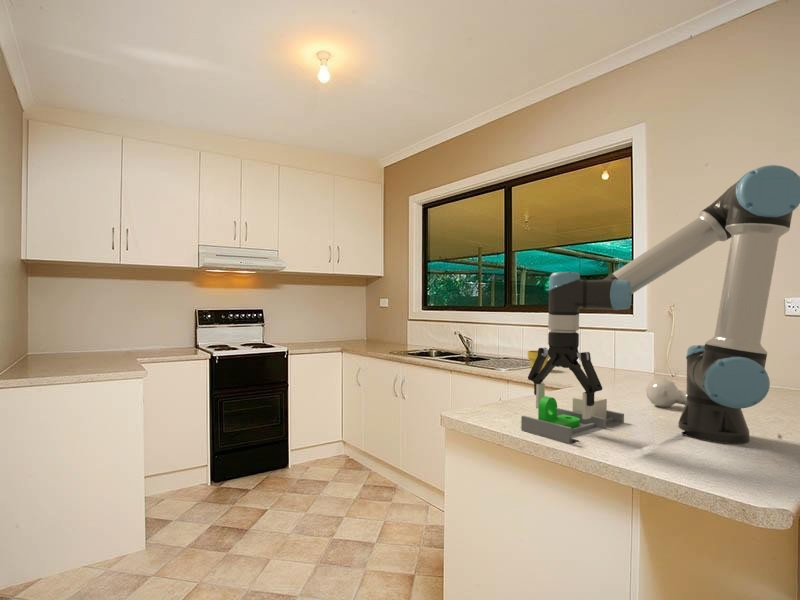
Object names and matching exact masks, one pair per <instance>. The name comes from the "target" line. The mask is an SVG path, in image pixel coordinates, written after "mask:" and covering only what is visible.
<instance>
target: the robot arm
mask: <svg viewBox="0 0 800 600" xmlns="http://www.w3.org/2000/svg"><path fill="white" fill-rule="evenodd" d="M799 206H800V175H799V174H797V172H795V171H794V170H793V169H791V168H789V167H786V166H783V165H776V164H774V165H773V164H770V165H764V166H760V167H757V168H754V169H752V170H749V171H748V172H746V173H745V174H743V175H742V177H740V178H739V180H738V181H737V182H735V183H733V184H732V185H730V187H729V188H727V189H726V190H725V191H724V192H723V194H722V195H720V196H719V197H718V198H717V199H716V200H714V201H713V202H712V203H711V204H710V205H708V206H706V208H704V209H702V210H701V211H699V213H698V216H697V218H696V219H694V220H692V221H691V222H690V223H688V224H686V225H684V227H682V228H680V229H678V230H677V231H676V232H674V233H672V234H671V235H670V236H668V237H666V238H665V239H663V240H661V241H660V242H659V243H657V244H655V245H654V246H652V247H650V249H649V248H648V250H647V251H644V252H643V253H641V254H640V255H639V256H637V257H636V258H634V259H632V260H631V261H629V262H628V263H627V264H625V265H623V266H622V267H620V268H618V269H617V270H616V271H614V272H612V273H611V274H609V275H607V276H606V277H604V278H603V279H591V280H590V279H581V276H580V273H579V272H576V271H558V272H557V271H556V272H552V273H551V274H550V275H549V283H548V285H549V286H548V323H547V324H548V325H547V326H548V330H550V331H548V333H547V334H548V335H547V337H548V339H547V341H548V342H547V344H548V346H549V347H548V348H547V347H539V348H538V350H537V351H538V356H537V358H536V360H535V363H534V365H533V367H532V369H531V368H530V371H529V374H528V376H527V379H528V381H531V382H532V383H533V385H534V386H533V390H534V391H533V393H534V396H535V397H536V399H535V409H538V407H539V402H540V400H541V399H542V398H543V397H544V396H546V395H545V391H546V389H545V387H546V385H545V383H544V380H545V379H546V378H547V377H548V375H550V373H551V372H552V371H553V369H554V368H556V367H557V368H561V367H562V368H563V369H569V370H570V371H571V372H572V373H573V375H574V376H575V378H576V379H577V381H578V382H579V384H580V385H581V387H582V388H583V390H584V392H582V396H583V401H582V419H589V418H591V406H593V405H594V397H595V394H596V392H600V391H602V390H603V386H602V383H601V381H600V379H599V376H598V375H597V373H596V370H595V368H594V365H593V362H592V360H591V359H592V358H591V353H590V351H584V352H579V346H580V343H579V342H580V334H579V332H577V331H579V329H580V309H581V310H582V309H583V310H603V311H604V310H608V311H609V310H614V311H619V310H629V309H630V308H631V305H632V299H633V297H632V295H633V294H635V293H636V292H638V291H639V290H641V289H642V288H644V287H646V286H647V285H649V284H651V283H652V282H654V281H655V280H657V279H658V278H660V277H662V276H664V275H665V274H667V273H668V272H670V271H671V270H673V269H675V268H676V267H678V266H679V265H681V264H683V263H685V262H686V261H688V260H689V259H691V258H692V257H694V256H696V255H697V254H699V253H700V252H703V251H704V250H705V249H707V248H708V247H710V246H712V245H714V244H715V243H717V242H726V241H727V240H730V243H729V250H728V254H727V255H728V257H727V262H726V268H725V272H724V279H723V284H722V291H721V296H720V301H719V302H720V303H719V309H718V314H717V317H716V318H717V319H716V325H715V331H714V336H713V337H712V338H711V339H710V338H709V340H707V341H706V342H704V343H705V344H704V345H702V344H699V345H698V344H697V345H690V346H689V347H688V348H687V351H686V355H685V358H686V392H687V400H686V405H684V407H683V410H682V412H681V415H680V418H679V420H678V425H677V427H678V428H679V429H680V430H682V432H680V433H681V434H683V435H684V436H687V437H691V438H694V439H696V440H697V439H698V440H703V441H707V442H714V443H721V444H746V443H749V442H750V430H749V426H748V423H747V422H746V418H745V416H744V414H743V413H744V412H743V410H742V409H748V408H751V407H754V406H756V405H757V404H759V403H761V402H762V401H763V400H764V399H765V398H766V397H767V395H768V393H769V391H770V386H771V384H770V383H771V381H770V377H769V375H768V372H767V370H766V362H767V357H768V351H767V350H766V349H765V348H764V347H763V346H762V344H761V341H762V334H763V330H764V326H765V325H764V324H765V318H766V314H767V313H766V312H767V308H768V302H769V301H768V300H769V297H770V290H771V285H772V280H773V279H772V278H773V274H774V268H775V262H776V258H777V257H776V256H777V251H778V246H779V240H780V238H781V237H782V236H783V235H785V234H787V233H788V232H789V231H790V229H791V225H792V224H791V223H792V218H793V217H792V216H793V214H794V213H793V212H794V211H795V210H796V209H797V208H798V207H799ZM547 355H549V359H548V362H547V363H546V365H545V366H544V368H543V369H542V370H541V368H542V366H543V364H544V361H545V359H546V357H547ZM578 359H579V361H580V362H581V365H582V367H583V369H582V368H581V365H580V363H579V361H578ZM540 370H541V371H540ZM583 370H584V371H583Z"/></svg>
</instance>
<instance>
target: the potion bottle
mask: <svg viewBox="0 0 800 600" xmlns="http://www.w3.org/2000/svg"><path fill="white" fill-rule="evenodd" d="M645 391H646V398H647V399H648V400H649V402H650V403H651V404H652V405H654V406H656V407H658V408H660V407H661V408H662V409H663V408H664V409H667V408H670V407H672V406H673V405H675V404H679V405H684V406H685V405H686V400H687V390H686V391H685V390H680V389H678V387H677V386H676V384H675V383H674V381H671V380H669V379H667V378H655V379H654V380H652V381H649V382H648V385H647V387H646V389H645Z"/></svg>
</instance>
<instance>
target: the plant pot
mask: <svg viewBox="0 0 800 600" xmlns="http://www.w3.org/2000/svg"><path fill="white" fill-rule="evenodd" d="M537 356H538V350H527V359H529V361H528V362H529V364H530V370H531V369H532V367H533V365H534V363H535V360H536V358H537ZM549 359H550V357H549V355H547V357H546V359H545V361H544V364H543V366H542V368H541V370H542V369H543V368H544V366H545V365H546V363H547V362H548V360H549ZM541 370H540V371H541Z"/></svg>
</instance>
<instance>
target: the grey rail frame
mask: <svg viewBox="0 0 800 600" xmlns="http://www.w3.org/2000/svg"><path fill="white" fill-rule="evenodd" d="M562 414H565V415H569V416H574V417H577V418H579V419H580V426H579V427H575V428H571V427H567V426H563V425H559V424H555V423H551V422H547V421H543V420H539V419H538V418H534V417H530V416H527V415H521V423H520V424H521V425H520V428H521V429H520V430H521V431H523V432H526V433H530V434H533V435H537V436H540V437H544V438H547V439H550V440H553V441H558V442H561V443H565V444H568V445H570V444H571V445H572V444H573V443H578V442H579V440H577V439H575V438H579V437H581V436H584V435H589V434H591V433H595V432H599V431H601V430H605V429H609V428H612V427H615V426H620V425H622V424H624V423H625V413H622V412H617V411H612V410H607V417H606V419H605V418H601V417H596V416H592V415H591V418H589V419H582V413H578V412H574V411H573V410H569V409H568V410H567V409H563V408H561V407H560V408H559V407H557V416H559V415H562Z"/></svg>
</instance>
